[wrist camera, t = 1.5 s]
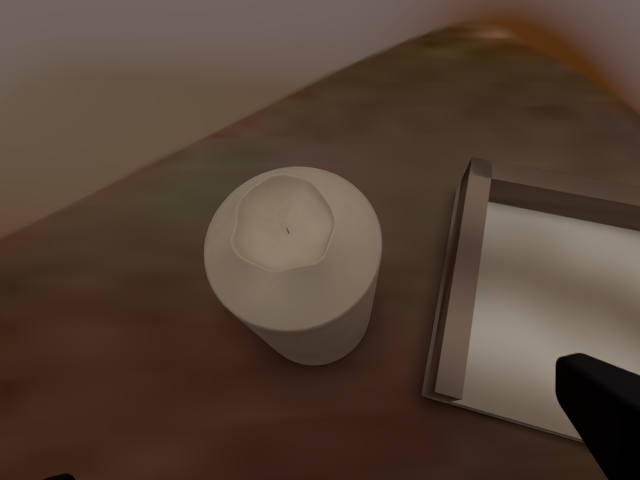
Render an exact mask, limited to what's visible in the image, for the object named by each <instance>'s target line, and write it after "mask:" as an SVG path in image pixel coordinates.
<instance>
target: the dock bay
mask: <svg viewBox="0 0 640 480" xmlns="http://www.w3.org/2000/svg"><path fill="white" fill-rule="evenodd" d="M574 353H583V354H586V355H589V356H592V357H594V358H597V359H599V360H602V361H604V362H607V363H610V364H612V365H615V366H617V367H620V368H623V369H625V370H628V371H630V372H633V373H636V374H638V375H640V187H636V186H630V185H625V184H619V183H613V182H608V181H602V180H597V179H591V178H585V177H580V176H574V175H568V174H563V173H557V172H552V171H546V170H540V169H535V168H529V167H523V166H518V165H512V164H506V163H501V162H495V161H490V160H484V159H478V158H473V157H472V158H471V161H470V163H469V165H468V167H467V169H466V171H465V174H464V176H463V178H462V180H461V182H460V184H459V187H458V189H457V191H456V196H455V201H454V207H453V213H452V219H451V225H450V231H449V237H448V243H447V248H446V254H445V260H444V266H443V272H442V278H441V284H440V290H439V296H438V301H437V307H436V313H435V319H434V325H433V331H432V337H431V343H430V349H429V354H428V360H427V366H426V372H425V378H424V384H423V390H422V396H424V397H427V398H430V399H434V400H437V401H441V402H444V403H448V404H451V405H455V406H458V407H462V408H465V409H469V410H472V411H475V412H479V413H482V414H486V415H489V416H493V417H496V418H500V419H503V420H507V421H510V422H514V423H517V424H520V425H524V426H527V427H531V428H534V429H538V430H541V431H545V432H548V433H552V434H555V435H559V436H562V437H565V438H569V439H572V440H576V441H579V442H583V440H582V439H581V437H580V435H579V434H578V432H577V431H576V429H575V428H574V426H573V425H572V423H571V422H570V420H569V419H568V417H567V416H566V414H565V412H564V411H563V409H562V408H561V406H560V405H559V403H558V400H557V398H556V394H555V365H556V361H557V359H558V358H559V357H561V356H565V355H569V354H574ZM583 443H584V442H583Z"/></svg>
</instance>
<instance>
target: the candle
mask: <svg viewBox="0 0 640 480" xmlns="http://www.w3.org/2000/svg"><path fill="white" fill-rule="evenodd" d="M381 254H382V234H381V228H380V224H379V221H378V218H377V216H376V213H375V211H374V209H373V207H372V206H371V204H370V203H369V201H368V200H367V198H366V197H365V196H364V195H363V194H362V193H361V191H359V190H358V189H357V188H356V187H355V186H354V185H353V184H351V183H350V182H348V181H347V180H345V179H344V178H342V177H340V176H338V175H336V174H333V173H331V172H328V171H325V170H321V169H317V168H310V167H286V168H280V169H275V170H271V171H268V172H265V173H262V174H260V175H258V176H256V177H254V178H252V179H250V180H248V181H247V182H245V183H243V184H242V185H241V186H239V187H238V188H237V189H236V190H234V191H233V192H232V193H231V194H230V195H229V196H228V197H227V198H226V199H225V201H224V202H223V203H222V204H221V205H220V207H219V208H218V210H217V211H216V213H215V215H214V217H213V219H212V221H211V223H210V225H209V228H208V231H207V234H206V239H205V244H204V264H205V269H206V274H207V277H208V280H209V282H210V285H211V287H212V289H213V291H214V292H215V294H216V296H217V297H218V299H219V300H220V301H221V302H222V304H223V305H224V306H225V307H226V308H227V309H228V310H230V311H231V312H232V313H233V314H234V315H235V316H236V317H237V318H238V319H240V320H241V321H242V322H243V323H244V324H245V325H247V326H248V327H249V328H250V329H251V330H252V331H254V332H255V333H256V334H257V335H258V336H259V337H261V338H262V339H263V340H264V341H265V342H266V343H268V344H269V345H270V346H271V347H272V348H273V349H275V350H276V351H277V352H278V353H280V354H281V355H283V356H284V357H286V358H287V359H289V360H291V361H293V362H296V363H299V364H304V365H314V366H315V365H324V364H329V363H332V362H335V361H337V360H339V359H341V358H343V357H345V356H346V355H347V354H349V353H350V352H351V351H352V350H353V349H354V348H355V347H356V346H357V345H358V344H359V343H360V341H361V340H362V338H363V336H364V335H365V332H366V330H367V328H368V324H369V321H370V317H371V311H372V306H373V300H374V295H375V289H376V284H377V278H378V273H379V267H380V261H381Z"/></svg>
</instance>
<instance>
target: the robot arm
mask: <svg viewBox="0 0 640 480" xmlns="http://www.w3.org/2000/svg"><path fill="white" fill-rule="evenodd" d="M555 394H556V398H557V400H558V403H559V405H560V406H561V408H562V409H563V411H564V412H565V414H566V416H567V417H568V419H569V420H570V422H571V423H572V425H573V426H574V428H575V429H576V431H577V432H578V434H579V435H580V437H581V439H582V440H583V442H584V443H585V445H586V446H587V448H588V449H589V451H590V452H591V454H592V455H593V457H594V458H595V460H596V461H597V463H598V465H599V466H600V468H601V469H602V471H603V472H604V474H605V475H606V477H607V478H608V480H640V375H638V374H636V373H633V372H630V371H628V370H625V369H623V368H620V367H617V366H615V365H612V364H610V363H607V362H604V361H602V360H599V359H597V358H594V357H592V356H589V355H586V354H583V353H574V354H569V355H565V356H561V357H559V358H558V359H557V361H556V365H555ZM44 480H75V478H74V477H73V476H72V475H70V474H66V473H65V474H61V475H56V476H52V477H48V478H46V479H44Z"/></svg>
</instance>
